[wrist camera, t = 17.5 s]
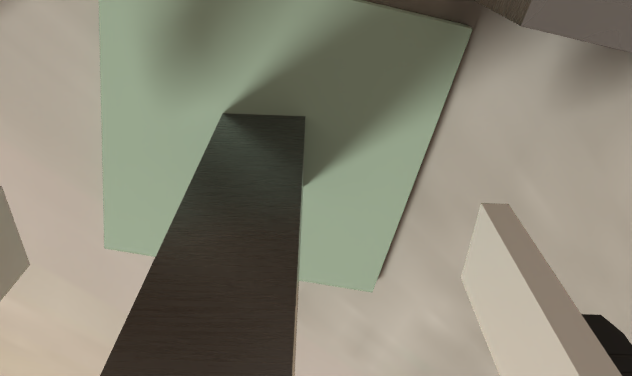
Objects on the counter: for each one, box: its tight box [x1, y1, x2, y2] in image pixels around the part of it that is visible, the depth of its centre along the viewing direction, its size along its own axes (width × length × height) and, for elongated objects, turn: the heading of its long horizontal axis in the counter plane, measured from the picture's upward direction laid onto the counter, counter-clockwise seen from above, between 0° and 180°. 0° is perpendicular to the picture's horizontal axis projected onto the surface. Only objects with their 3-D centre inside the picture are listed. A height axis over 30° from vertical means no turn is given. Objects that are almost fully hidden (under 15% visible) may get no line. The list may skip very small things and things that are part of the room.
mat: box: [99, 0, 473, 292], centre depth 18 cm, size 12×12×1 cm
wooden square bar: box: [100, 113, 305, 376], centre depth 11 cm, size 3×3×16 cm
